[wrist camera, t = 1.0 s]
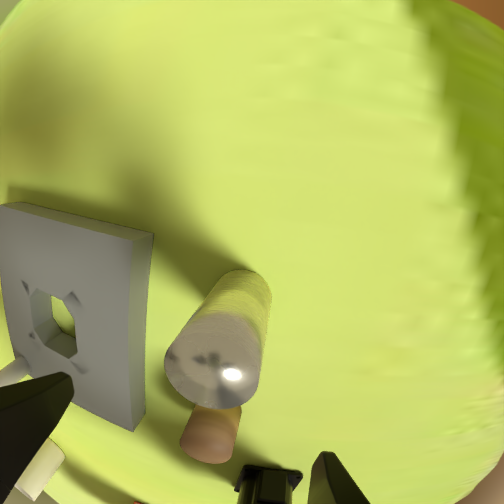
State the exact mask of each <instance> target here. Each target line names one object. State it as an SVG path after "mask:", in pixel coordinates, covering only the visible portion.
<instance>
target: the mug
mask: <svg viewBox="0 0 504 504" xmlns="http://www.w3.org/2000/svg"><path fill="white" fill-rule="evenodd" d="M64 459H65V455H64V453H63V452H62V450H61V449H60V448H59V447H58V446H57V445H56V444H55V443H54V442H53V441H52V440H51V439H49V438H47V439H46V441H45V442H44V444H43V445H42V446H41V448H40V449H39V451H38V452H37V453H36V455H35V456H34V458H33V459H32V461H31V462H30V463H29V465H28V466H27V468H26V469H25V471H24V472H23V474H22V475H21V477H20V478H19V479H18V481H17V482H16V484H15V485H14V486H15V487H16V488H17V489H18V490H19V491H21V492H22V493H23V494H24V495H26V496H27V497H28V498H30V499H31V500H33V501H35V499H36V498H37V497H38V496H39V494H40V493H41V491H42V490H43V489H44V487H45V486H46V484H47V483H48V482H49V480H50V479H51V477H52V476H53V475H54V473H55V472H56V471H57V469H58V468H59V466H60V465H61V463H62V462H63V461H64Z"/></svg>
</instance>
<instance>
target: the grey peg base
mask: <svg viewBox="0 0 504 504" xmlns="http://www.w3.org/2000/svg"><path fill="white" fill-rule="evenodd" d="M153 237H154V233H150V232H146V231H141V230H137V229H133V228H129V227H124V226H120V225H116V224H112V223H107V222H103V221H99V220H95V219H91V218H86V217H82V216H78V215H74V214H70V213H65V212H61V211H57V210H53V209H49V208H44V207H40V206H36V205H32V204H28V203H24V202H15V203H8V204H1V205H0V278H1V287H2V295H3V302H4V308H5V314H6V320H7V325H8V330H9V335H10V339H11V344H12V348H13V352H14V356H15V360H14V361H13V362H11V363H10V364H8V365H7V366H6V367H4V368H3V369H2V370H0V387H2V386H7V385H11V384H15V383H17V382H18V381H19V380H21V379H22V378H23V377H24V376H26V375H27V374H28V375H30V376H31V377H33V378H38V377H42V376H46V375H49V374H53V373H57V372H60V371H63V372H65V373H67V374H69V375H70V376H71V377H72V381H73V386H74V391H75V393H74V397H73V398H72V400H71V402H73V403H74V404H76V405H78V406H80V407H82V408H83V409H85V410H87V411H89V412H91V413H93V414H95V415H97V416H99V417H101V418H103V419H105V420H107V421H109V422H111V423H113V424H116V425H118V426H120V427H122V428H124V429H127V430H129V431H131V432H134V430H135V429H136V427H137V425H138V424H139V422H140V421H141V419H142V417H143V416H144V414H145V332H146V312H147V297H148V284H149V273H150V263H151V254H152V245H153ZM51 295H52V296H54V297H56V298H58V299H60V300H62V301H63V303H64V304H65V306H66V307H67V309H68V311H69V312H70V314H71V315H72V317H73V318H74V322H75V333H76V339H75V338H73V337H71V336H69V335H67V334H65V333H63V332H62V331H61V329H60V328H59V326H58V325H57V323H56V321H55V320H54V318H53V315H52V305H51Z"/></svg>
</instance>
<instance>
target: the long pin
mask: <svg viewBox="0 0 504 504" xmlns="http://www.w3.org/2000/svg"><path fill="white" fill-rule="evenodd" d="M271 300H272V296H271V291H270V288H269V286H268V284H267V283H266V281H265V280H264V279H263V278H262V277H261V276H260V275H258V274H256V273H254V272H252V271H249V270H242V269H239V270H233V271H230V272H228V273H226V274H225V275H223V276H222V277H221V278H220V279H219V281H218V282H217V283H216V284H215V286H214V287H213V289H212V290H211V291H210V293H209V294H208V295H207V297H206V298H205V299H204V301H203V302H202V303H201V305H200V306H199V307H198V309H197V310H196V311H195V313H194V314H193V315H192V317H191V318H190V319H189V321H188V322H187V323H186V325H185V326H184V328H183V329H182V330H181V332H180V333H179V334H178V336H177V337H176V338H175V340H174V341H173V342H172V344H171V345H170V347H169V348H168V350H167V352H166V355H165V359H164V367H165V372H166V375H167V377H168V379H169V381H170V383H171V384H172V386H173V387H174V388H175V389H176V390H177V391H178V393H180V394H181V395H182V396H183V397H185V398H186V399H187V400H189V401H191V402H193V403H195V404H197V405H200V406H203V407H206V408H211V409H230V408H234V407H238V406H240V405H242V404H244V403H246V402H247V401H248V400H249V399H250V398H251V397H252V396H253V395H254V393H255V392H256V390H257V387H258V383H259V377H260V371H261V365H262V358H263V352H264V346H265V340H266V333H267V327H268V320H269V314H270V307H271Z"/></svg>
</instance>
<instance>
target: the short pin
mask: <svg viewBox="0 0 504 504" xmlns="http://www.w3.org/2000/svg"><path fill="white" fill-rule="evenodd" d="M241 413H242V410H241V406H238V407H234V408H230V409H211V408H206V407H203V406H200V405H197V404H196V405H195V407H194V409H193V411H192V414H191V416H190V418H189V421H188V423H187V425H186V428H185V430H184V432H183V434H182V437H181V439H180V446H181V448H182V450H183V451H184V452H185V453H186V454H188V455H189V456H190V457H192V458H194V459H196V460H198V461H201V462H205V463H211V464H218V463H223V462H226V461H228V460H229V459H230V458H231V456H232V452H233V448H234V443H235V439H236V435H237V430H238V426H239V422H240V417H241Z"/></svg>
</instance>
